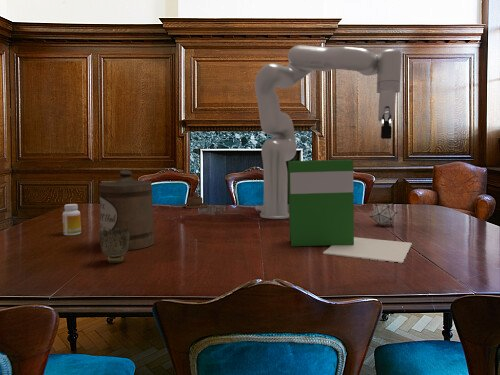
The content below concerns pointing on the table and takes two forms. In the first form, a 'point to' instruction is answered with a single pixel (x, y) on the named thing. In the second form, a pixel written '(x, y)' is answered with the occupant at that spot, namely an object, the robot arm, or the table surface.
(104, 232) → the cup
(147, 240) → the wooden container
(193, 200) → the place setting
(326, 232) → the hardback book
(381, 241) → the desk pad
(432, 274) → the table surface
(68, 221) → the supplement bottle
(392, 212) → the game die
